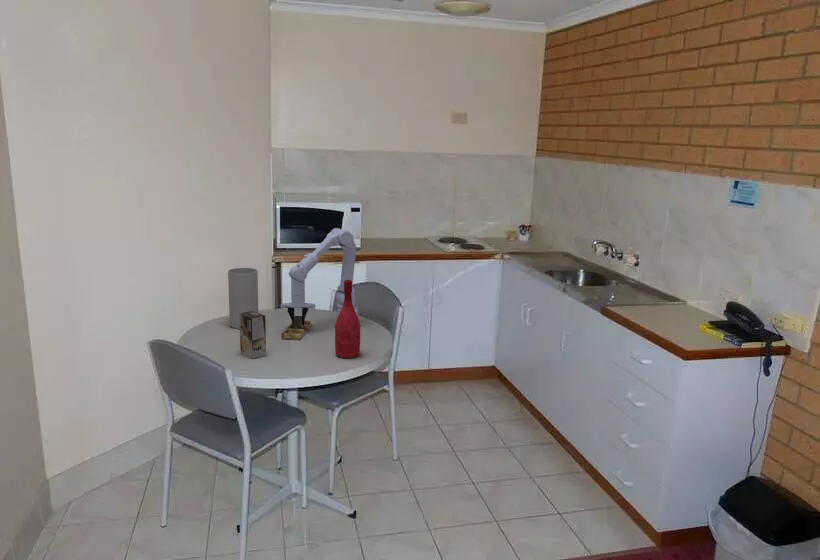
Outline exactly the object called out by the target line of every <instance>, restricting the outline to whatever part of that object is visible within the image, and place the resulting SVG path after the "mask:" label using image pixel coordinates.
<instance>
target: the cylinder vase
mask: <svg viewBox="0 0 820 560" xmlns="http://www.w3.org/2000/svg"><path fill="white" fill-rule="evenodd" d="M258 275H259V273H258V269H256V268H251V267H235V268H230V269H228V270H227V280H228V281H227V282H228V308H229V309H228V310H229V311H228V312H229V313H228V317H229V318H228V319H229V326H230V327H231V328H233V329H237V330H240V322H239V314H241V313H245V312H250V311H254V312H257V313H259V285H258V284H259V283H258V282H259V280H258V279H259V278H258V277H259V276H258Z"/></svg>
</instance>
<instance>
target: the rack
mask: <svg viewBox="0 0 820 560" xmlns="http://www.w3.org/2000/svg"><path fill="white" fill-rule="evenodd" d="M312 326H313V324H312V320H308V319H307V320H306V319H305V320H304V325H303V329H294V325H292V322H291V323H290V324H289V325H288V326H287V328H285V330H283V332H282V333H281V338H280V339H281V340H283V339H284V340H286V341H287V340H289V341H301V340H302V339H303V337H304V336H305V335H306V334H307V333H308V331H309V330H310V329H311V328H312ZM284 340H283V341H284Z"/></svg>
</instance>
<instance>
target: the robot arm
mask: <svg viewBox="0 0 820 560" xmlns="http://www.w3.org/2000/svg"><path fill="white" fill-rule="evenodd" d="M354 239H355V238H354V235H353V233H351V232H350V231H349V230H345V229H341V228H339V227H334V228H333V229H331V231H330V232H329V233H327V235H326V237H325V238H324V239H323V241H321V242H320V244H319V245H318V246H317V247H316V248H315V249H314V251H312V252H311V253H309V252H308V253H306V254H304V255H303V258H302V259H301V260H300V261H299V262H297V263H296V264H295V265H294V266H292V267H290V270H289V272H288V276H289V278H290V280H291V281H290V282H291V284H290V285H291V289H290V291H291V292H290V295H291V296H290V297H291V300H290V301H291V302H285V303H281V304H280V309H281V310H284V309H286V310H287V313H288V315H289V317H290V319H291V323H292V325H294V317H295V309H297V310H298V309H300V310H301V316H302V325H304V320H306V316H307V314H308V311H309V310H311V309H312V310H316V303H308V302H306V298H305V297H306V296H305V295H306V291H305V287H306V285H305V283H306V279H307V277H308V274H309V273H310V271H311V270H312V269H313V268H315V266H316V265H317V264H318V263H319V258H320V257H322V256H323V255H324V254H325V253H326V252H327V251H328V250H329V249H330V248H332V247H337V246H338V247H339V246H340V248H341V249H342V250H343V254H342V265H341V275H340V282H339V283H340V284H339V285H338V286H337V289H336V292H335V294H334V301H335V302H336V319H337V318H338V316H339V313H340V311H341V309H342V307H343V303H344V293H345V292H344V281H345V280H351V281H352V292H351V295H352V304H353V307H354V309H355V312H356V314H357V316H358V317H359V308H358V306H355V305H356V302H357V298H356V292H355V289H354V286H353V284H354V283H353V282H354V272H355V262H356V255H357V253H356V252H357V245H356V242H355V240H354Z"/></svg>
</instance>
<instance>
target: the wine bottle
mask: <svg viewBox="0 0 820 560" xmlns="http://www.w3.org/2000/svg"><path fill="white" fill-rule="evenodd" d="M352 286H353V284H352V281H351V280H345V281H344V292H345V293H344V303H343V307H342V309H341V311H340V313H339V316H338V318H337V317H336V322H335V325H334V346H335V347H334V351H335V355H336V356H337V357H339V358H342V359H353V358H356V357H358V356H359V355H360V352H361V324H360V320H359V315H358V316H357V314H356V312H355V309H354V307H355V306H354V307H353V304H352V295H351V292H352Z"/></svg>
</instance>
